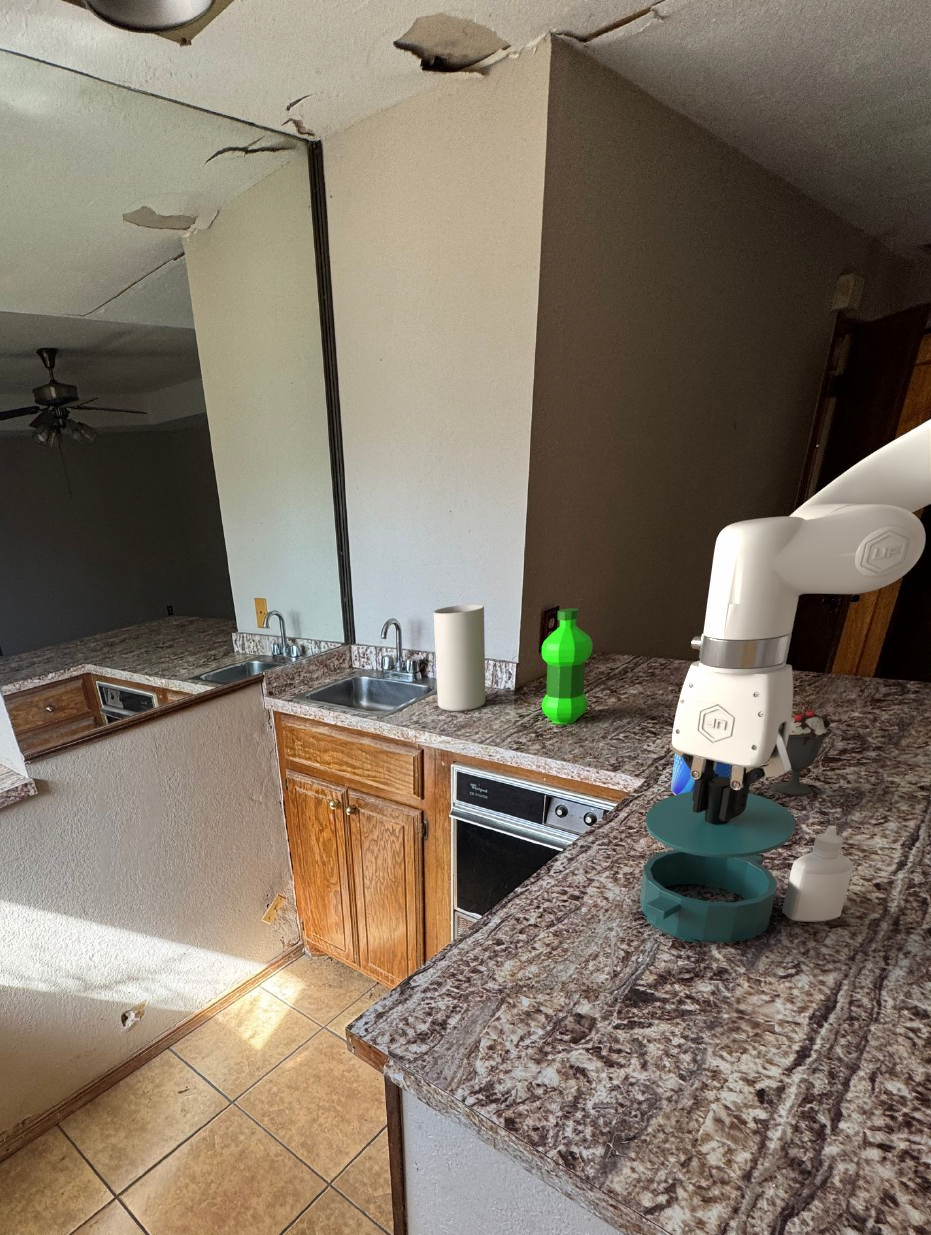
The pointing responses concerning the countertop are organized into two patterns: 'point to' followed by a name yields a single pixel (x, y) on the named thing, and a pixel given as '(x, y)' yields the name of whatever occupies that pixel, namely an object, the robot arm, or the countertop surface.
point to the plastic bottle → (566, 669)
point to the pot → (702, 916)
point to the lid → (719, 824)
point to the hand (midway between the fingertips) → (716, 811)
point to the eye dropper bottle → (819, 881)
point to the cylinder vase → (460, 657)
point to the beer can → (683, 778)
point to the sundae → (803, 748)
